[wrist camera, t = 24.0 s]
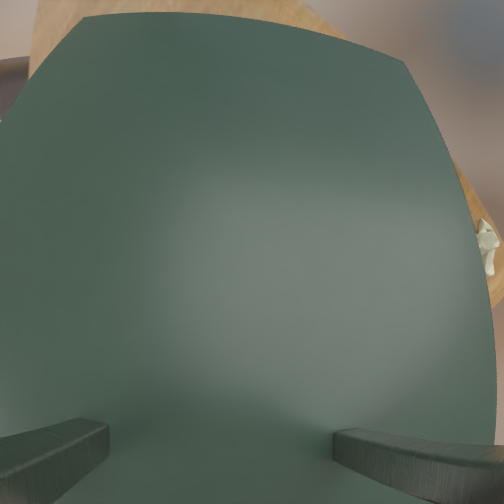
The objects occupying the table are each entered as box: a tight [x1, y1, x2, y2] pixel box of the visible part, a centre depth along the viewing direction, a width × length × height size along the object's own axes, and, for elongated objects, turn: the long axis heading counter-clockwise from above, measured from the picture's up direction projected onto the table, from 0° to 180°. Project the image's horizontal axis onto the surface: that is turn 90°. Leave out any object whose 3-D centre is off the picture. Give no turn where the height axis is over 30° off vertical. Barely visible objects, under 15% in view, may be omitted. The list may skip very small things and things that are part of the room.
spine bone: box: [476, 218, 500, 276], centre depth 34 cm, size 12×10×5 cm
